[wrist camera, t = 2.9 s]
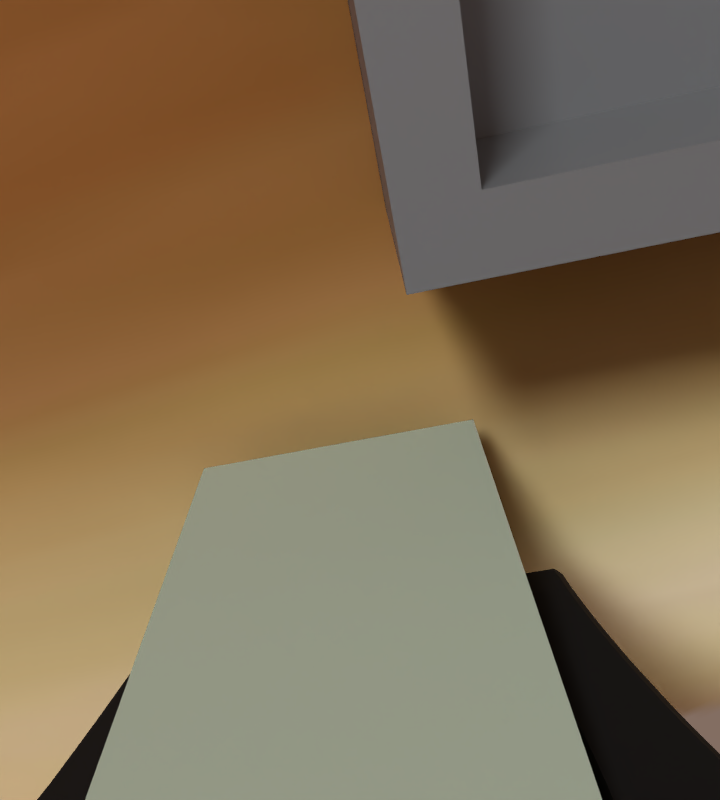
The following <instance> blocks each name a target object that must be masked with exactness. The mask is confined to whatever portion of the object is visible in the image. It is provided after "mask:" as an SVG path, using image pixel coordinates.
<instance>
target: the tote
mask: <svg viewBox="0 0 720 800" xmlns="http://www.w3.org/2000/svg"><path fill="white" fill-rule="evenodd" d="M348 4H349V9H350V15H351V20H352V26H353V31H354V37H355V42H356V48H357V53H358V59H359V64H360V69H361V75H362V80H363V86H364V91H365V97H366V102H367V108H368V113H369V119H370V124H371V130H372V135H373V140H374V146H375V151H376V157H377V162H378V168H379V173H380V179H381V184H382V190H383V195H384V201H385V206H386V211H387V215H388V219H389V223H390V228H391V232H392V236H393V240H394V244H395V248H396V252H397V257H398V261H399V265H400V269H401V273H402V277H403V281H404V286H405V290H406V294H407V295H408V294H413V293H418V292H423V291H428V290H433V289H438V288H443V287H448V286H453V285H458V284H463V283H468V282H473V281H478V280H483V279H488V278H493V277H498V276H503V275H508V274H513V273H518V272H523V271H528V270H533V269H538V268H543V267H548V266H553V265H558V264H563V263H568V262H573V261H578V260H583V259H588V258H593V257H598V256H603V255H608V254H613V253H618V252H623V251H628V250H633V249H638V248H643V247H648V246H653V245H658V244H663V243H668V242H673V241H678V240H683V239H688V238H693V237H698V236H703V235H708V234H713V233H718V232H720V0H348Z"/></svg>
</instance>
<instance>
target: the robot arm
mask: <svg viewBox="0 0 720 800" xmlns="http://www.w3.org/2000/svg"><path fill="white" fill-rule="evenodd" d="M525 574H526V576H527V579H528V582H529V585H530V588H531V591H532V594H533V597H534V600H535V603H536V606H537V609H538V612H539V615H540V618H541V621H542V624H543V627H544V630H545V632H546V635H547V638H548V641H549V644H550V647H551V650H552V653H553V656H554V659H555V662H556V665H557V668H558V671H559V674H560V677H561V680H562V683H563V685H564V688H565V691H566V694H567V697H568V700H569V703H570V706H571V709H572V712H573V715H574V718H575V721H576V724H577V727H578V730H579V733H580V736H581V739H582V741H583V744H584V747H585V750H586V753H587V756H588V759H589V762H590V765H591V768H592V771H593V774H594V777H595V780H596V783H597V786H598V789H599V792H600V794H601V797H602V800H720V754H719V753H718V752H717V751H716V750H715V749H714V748H713V747H712V746H711V745H710V744H709V743H708V742H707V741H706V740H705V739H704V738H703V737H702V736H701V735H700V734H699V733H698V732H697V731H696V730H695V729H694V728H693V727H692V726H691V725H690V724H689V723H688V722H687V721H686V720H685V719H684V718H683V717H682V716H681V715H680V714H679V713H678V712H677V711H676V710H675V709H674V708H673V706H672V705H671V704H670V703H669V702H668V701H667V700H666V699H665V698H664V697H663V696H662V695H661V694H660V692H659V691H658V690H657V689H656V688H655V687H654V686H653V685H652V684H651V683H650V682H649V680H648V679H647V678H646V677H645V676H644V675H643V674H642V673H641V672H640V671H639V670H638V668H637V667H636V666H635V665H634V664H633V663H632V662H631V661H630V660H629V658H628V657H627V656H626V655H625V654H624V653H623V652H622V650H621V649H620V648H619V647H618V646H617V645H616V643H615V642H614V641H613V640H612V639H611V637H610V636H609V635H608V634H607V633H606V631H605V630H604V629H603V628H602V627H601V625H600V624H599V623H598V622H597V620H596V619H595V618H594V617H593V615H592V614H591V613H590V612H589V610H588V609H587V608H586V606H585V605H584V604H583V602H582V601H581V600H580V599H579V597H578V596H577V594H576V593H575V592H574V590H573V589H572V588H571V586H570V585H569V583H568V582H567V580H566V579H565V577H564V576H563V574H561V573H560V572H558V571H557V570H555V569H550V570H544V571H538V572H531V573H525ZM129 676H130V675H129ZM129 676H128V678H127V679H126V680H125V682H124V683H123V685H122V686H121V687H120V689H119V690H118V692H117V693H116V694H115V696H114V697H113V699H112V700H111V701H110V703H109V704H108V706H107V707H106V708H105V710H104V711H103V712H102V714H101V715H100V717H99V718H98V719H97V721H96V722H95V724H94V725H93V726H92V728H91V729H90V730H89V732H88V733H87V734H86V736H85V737H84V739H83V740H82V741H81V743H80V744H79V745H78V747H77V748H76V749H75V751H74V752H73V753H72V755H71V756H70V757H69V759H68V760H67V762H66V763H65V764H64V766H63V767H62V768H61V770H60V771H59V772H58V774H57V775H56V776H55V778H54V779H53V780H52V782H51V783H50V784H49V786H48V787H47V788H46V789H45V791H44V792H43V793H42V794H41V796H40V797H39V798H38V799H37V800H85V799H86V796H87V793H88V790H89V787H90V785H91V782H92V779H93V776H94V774H95V771H96V768H97V765H98V762H99V760H100V757H101V754H102V751H103V749H104V746H105V743H106V740H107V737H108V735H109V732H110V729H111V726H112V723H113V721H114V718H115V715H116V712H117V710H118V707H119V704H120V701H121V698H122V696H123V693H124V690H125V687H126V685H127V682H128V679H129Z"/></svg>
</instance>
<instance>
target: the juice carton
mask: <svg viewBox="0 0 720 800" xmlns="http://www.w3.org/2000/svg"><path fill="white" fill-rule="evenodd" d="M85 800H602V797H601V794H600V792H599V789H598V786H597V783H596V780H595V777H594V774H593V771H592V768H591V765H590V762H589V759H588V756H587V753H586V750H585V747H584V744H583V741H582V739H581V736H580V733H579V730H578V727H577V724H576V721H575V718H574V715H573V712H572V709H571V706H570V703H569V700H568V697H567V694H566V691H565V688H564V685H563V683H562V680H561V677H560V674H559V671H558V668H557V665H556V662H555V659H554V656H553V653H552V650H551V647H550V644H549V641H548V638H547V635H546V632H545V630H544V627H543V624H542V621H541V618H540V615H539V612H538V609H537V606H536V603H535V600H534V597H533V594H532V591H531V588H530V585H529V582H528V579H527V576H526V574H525V571H524V568H523V565H522V562H521V559H520V556H519V553H518V550H517V547H516V544H515V541H514V538H513V535H512V532H511V529H510V526H509V523H508V521H507V518H506V515H505V512H504V509H503V506H502V503H501V500H500V497H499V494H498V491H497V488H496V485H495V482H494V479H493V476H492V473H491V470H490V467H489V465H488V462H487V459H486V456H485V453H484V450H483V447H482V444H481V441H480V438H479V435H478V432H477V429H476V426H475V423H474V420H468V421H462V422H457V423H451V424H446V425H440V426H435V427H429V428H424V429H418V430H413V431H407V432H402V433H396V434H391V435H385V436H380V437H374V438H369V439H363V440H358V441H352V442H347V443H341V444H336V445H330V446H325V447H319V448H314V449H308V450H303V451H297V452H292V453H287V454H281V455H276V456H270V457H265V458H259V459H254V460H248V461H243V462H237V463H232V464H226V465H221V466H215V467H210V468H204V470H203V473H202V476H201V479H200V481H199V484H198V487H197V490H196V492H195V495H194V498H193V501H192V504H191V506H190V509H189V512H188V515H187V518H186V520H185V523H184V526H183V529H182V531H181V534H180V537H179V540H178V543H177V545H176V548H175V551H174V554H173V556H172V559H171V562H170V565H169V568H168V570H167V573H166V576H165V579H164V582H163V584H162V587H161V590H160V593H159V595H158V598H157V601H156V604H155V607H154V609H153V612H152V615H151V618H150V621H149V623H148V626H147V629H146V632H145V634H144V637H143V640H142V643H141V646H140V648H139V651H138V654H137V657H136V659H135V662H134V665H133V668H132V671H131V673H130V676H129V679H128V682H127V685H126V687H125V690H124V693H123V696H122V698H121V701H120V704H119V707H118V710H117V712H116V715H115V718H114V721H113V723H112V726H111V729H110V732H109V735H108V737H107V740H106V743H105V746H104V749H103V751H102V754H101V757H100V760H99V762H98V765H97V768H96V771H95V774H94V776H93V779H92V782H91V785H90V787H89V790H88V793H87V796H86V799H85Z"/></svg>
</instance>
